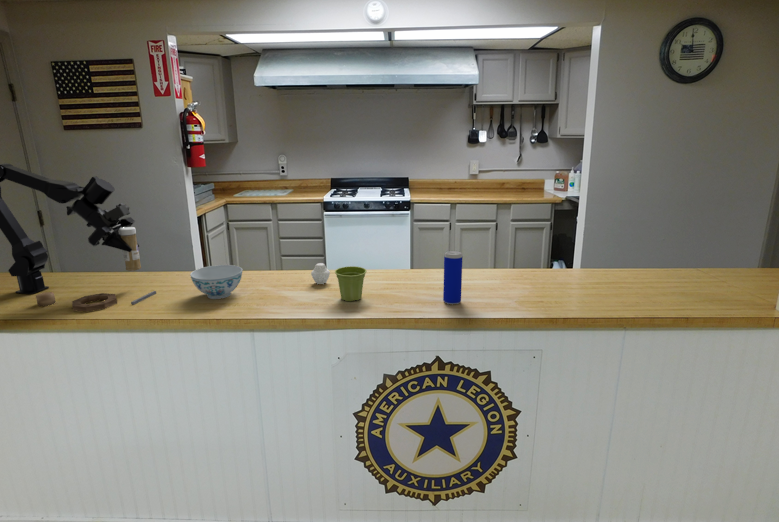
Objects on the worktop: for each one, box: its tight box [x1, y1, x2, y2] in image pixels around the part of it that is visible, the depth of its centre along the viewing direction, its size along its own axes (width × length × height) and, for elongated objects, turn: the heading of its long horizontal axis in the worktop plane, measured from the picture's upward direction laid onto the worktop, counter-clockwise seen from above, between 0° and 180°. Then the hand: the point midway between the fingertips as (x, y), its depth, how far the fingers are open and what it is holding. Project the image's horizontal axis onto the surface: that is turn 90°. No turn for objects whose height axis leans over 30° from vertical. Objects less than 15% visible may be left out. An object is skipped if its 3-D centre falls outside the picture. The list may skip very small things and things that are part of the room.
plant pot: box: [334, 265, 367, 302], centre depth 143 cm, size 9×9×9 cm
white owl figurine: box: [310, 262, 331, 285], centre depth 157 cm, size 6×6×7 cm
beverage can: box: [442, 250, 463, 306], centre depth 138 cm, size 5×5×15 cm
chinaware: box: [189, 264, 243, 300], centre depth 146 cm, size 15×15×8 cm
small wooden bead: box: [35, 291, 57, 307], centre depth 141 cm, size 4×4×3 cm
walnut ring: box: [71, 292, 118, 313], centre depth 141 cm, size 11×11×2 cm
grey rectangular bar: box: [130, 290, 157, 306], centre depth 145 cm, size 10×1×1 cm, turn 168°
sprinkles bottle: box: [119, 226, 142, 272], centre depth 151 cm, size 5×5×14 cm
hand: (134, 249), depth 151 cm, fingers closed on sprinkles bottle, 4 cm apart
